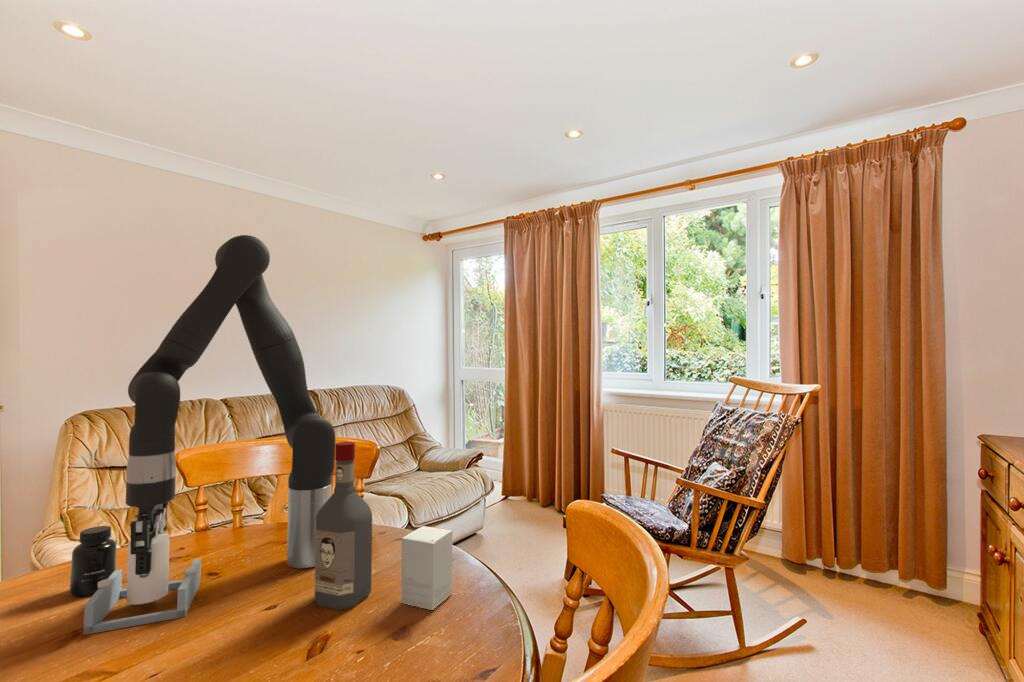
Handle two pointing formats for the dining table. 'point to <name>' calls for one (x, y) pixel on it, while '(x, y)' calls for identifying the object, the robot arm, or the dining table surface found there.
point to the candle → (156, 580)
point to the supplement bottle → (92, 560)
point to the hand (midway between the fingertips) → (149, 565)
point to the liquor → (343, 540)
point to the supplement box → (426, 567)
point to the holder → (113, 591)
